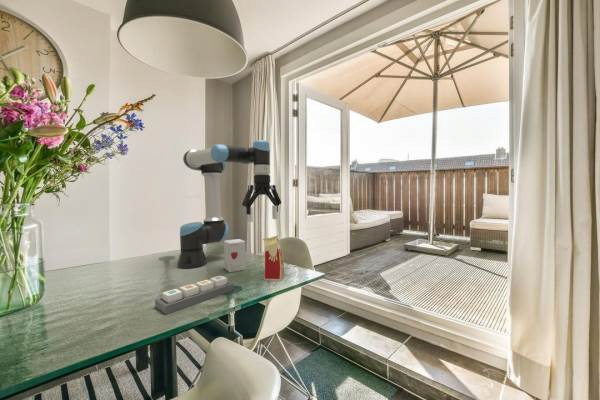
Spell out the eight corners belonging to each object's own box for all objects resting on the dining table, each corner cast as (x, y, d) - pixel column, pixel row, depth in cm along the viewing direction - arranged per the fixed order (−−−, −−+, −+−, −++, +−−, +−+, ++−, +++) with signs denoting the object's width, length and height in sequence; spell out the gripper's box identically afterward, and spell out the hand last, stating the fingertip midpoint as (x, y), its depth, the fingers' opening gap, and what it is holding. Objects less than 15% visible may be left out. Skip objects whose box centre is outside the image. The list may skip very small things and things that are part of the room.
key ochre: (195, 289, 103) (195, 282, 103) (207, 285, 107) (206, 279, 106) (202, 292, 100) (201, 285, 100) (213, 288, 103) (213, 281, 103)
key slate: (210, 284, 108) (210, 278, 107) (220, 281, 111) (220, 275, 111) (216, 287, 104) (216, 280, 104) (227, 284, 108) (226, 277, 108)
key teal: (162, 299, 93) (162, 292, 93) (176, 295, 97) (175, 288, 97) (168, 303, 90) (168, 295, 90) (182, 298, 94) (182, 291, 94)
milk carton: (284, 274, 127) (283, 233, 126) (281, 281, 118) (280, 237, 117) (266, 274, 128) (265, 233, 127) (261, 280, 119) (260, 237, 118)
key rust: (180, 294, 98) (179, 287, 98) (192, 290, 102) (192, 283, 102) (186, 297, 95) (185, 290, 95) (198, 293, 99) (198, 286, 99)
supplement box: (229, 272, 132) (228, 243, 131) (223, 268, 139) (223, 240, 138) (246, 269, 137) (245, 241, 136) (240, 265, 144) (239, 238, 143)
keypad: (155, 307, 94) (154, 299, 93) (221, 285, 114) (221, 279, 114) (165, 314, 88) (165, 306, 88) (233, 290, 108) (233, 283, 108)
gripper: (242, 173, 110) (243, 223, 111) (287, 174, 127) (288, 218, 128) (233, 174, 116) (234, 222, 117) (278, 175, 133) (279, 217, 133)
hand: (263, 220), depth 122 cm, fingers open, 13 cm apart
